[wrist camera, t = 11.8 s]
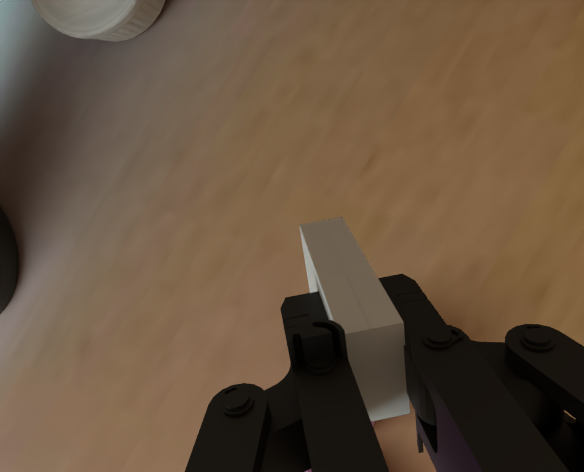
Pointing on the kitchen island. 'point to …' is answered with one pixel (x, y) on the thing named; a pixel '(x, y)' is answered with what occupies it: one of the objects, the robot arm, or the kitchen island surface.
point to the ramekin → (100, 17)
